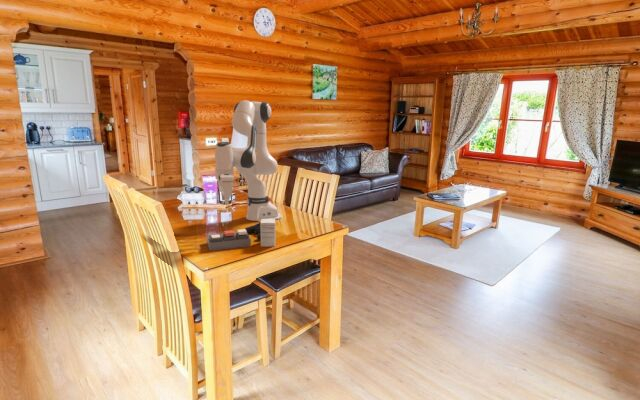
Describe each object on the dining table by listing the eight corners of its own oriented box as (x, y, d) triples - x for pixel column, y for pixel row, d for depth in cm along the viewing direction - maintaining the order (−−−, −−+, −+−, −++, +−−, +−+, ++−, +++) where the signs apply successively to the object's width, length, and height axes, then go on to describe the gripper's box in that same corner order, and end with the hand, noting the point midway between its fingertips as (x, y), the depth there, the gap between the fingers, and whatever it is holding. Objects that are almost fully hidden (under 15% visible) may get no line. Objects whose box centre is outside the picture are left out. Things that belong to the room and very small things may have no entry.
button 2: (245, 231, 190) (245, 229, 190) (246, 234, 186) (246, 231, 186) (237, 232, 188) (237, 229, 188) (238, 235, 185) (238, 232, 184)
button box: (245, 238, 198) (245, 228, 196) (250, 246, 187) (250, 235, 186) (206, 242, 190) (206, 232, 189) (209, 250, 179) (209, 239, 178)
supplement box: (261, 241, 194) (261, 218, 191) (275, 241, 194) (275, 218, 191) (260, 246, 186) (260, 222, 184) (275, 246, 187) (275, 222, 184)
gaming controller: (263, 245, 196) (276, 232, 200) (258, 237, 193) (271, 225, 197) (246, 237, 208) (259, 225, 212) (241, 229, 205) (255, 218, 209)
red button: (232, 233, 187) (232, 230, 187) (233, 235, 184) (233, 232, 183) (224, 233, 186) (224, 231, 186) (225, 236, 182) (225, 233, 182)
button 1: (219, 237, 185) (219, 234, 185) (220, 239, 182) (220, 236, 181) (211, 238, 184) (210, 235, 183) (212, 240, 180) (212, 237, 180)
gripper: (215, 172, 193) (216, 198, 195) (221, 178, 174) (221, 207, 177) (227, 172, 195) (228, 197, 198) (234, 177, 177) (235, 206, 179)
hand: (225, 202), depth 187 cm, fingers open, 8 cm apart
